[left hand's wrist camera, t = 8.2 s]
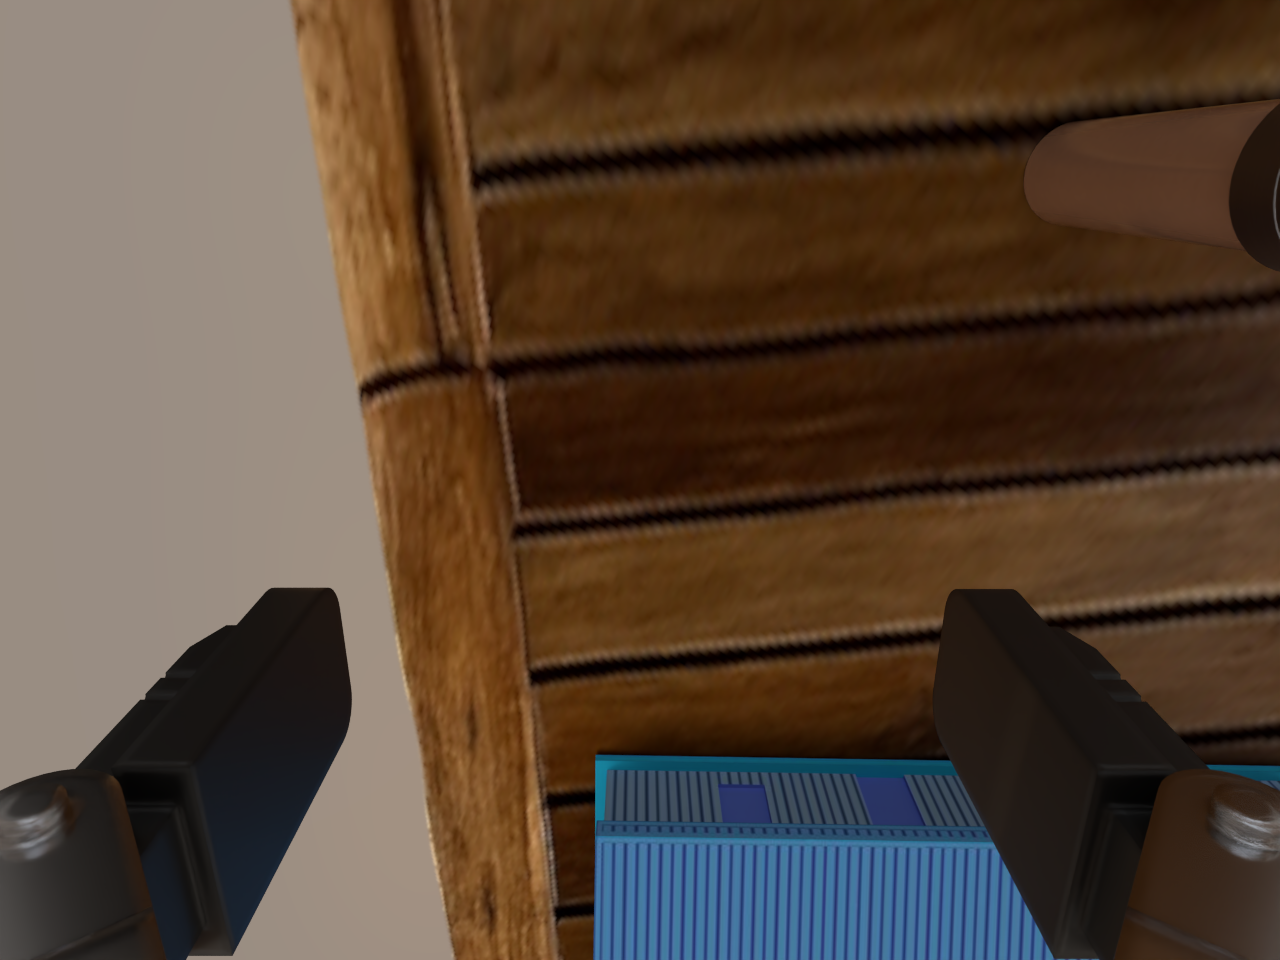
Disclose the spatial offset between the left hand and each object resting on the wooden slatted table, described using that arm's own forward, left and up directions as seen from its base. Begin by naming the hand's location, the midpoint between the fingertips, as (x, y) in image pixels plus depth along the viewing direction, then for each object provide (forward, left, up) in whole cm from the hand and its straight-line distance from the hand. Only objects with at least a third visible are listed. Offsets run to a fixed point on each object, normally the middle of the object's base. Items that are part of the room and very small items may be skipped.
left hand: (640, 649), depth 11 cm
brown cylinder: (-6, +19, -29) cm, 35 cm away
